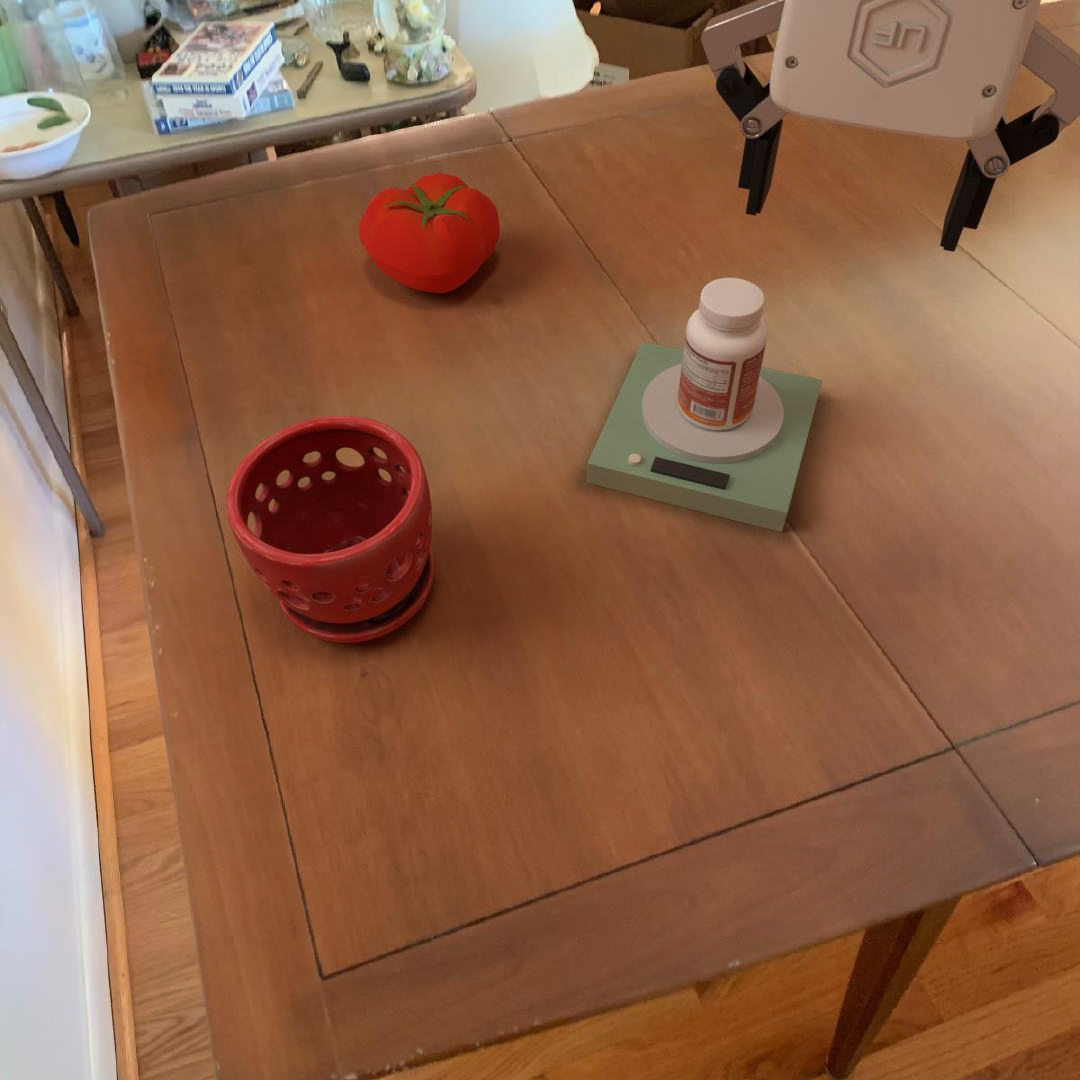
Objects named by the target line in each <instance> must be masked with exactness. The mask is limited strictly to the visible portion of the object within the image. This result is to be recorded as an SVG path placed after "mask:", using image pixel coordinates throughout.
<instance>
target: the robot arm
mask: <svg viewBox="0 0 1080 1080" xmlns="http://www.w3.org/2000/svg"><path fill="white" fill-rule="evenodd" d="M1041 2H1042V0H754V1H752V2H749V3H747V4H744V5H741V6H740V7H737V8H734V9H731V10H729V11H727V12H723V13H721V14H718V15H715V16H713V17H712V18H710V19H709V20H708V22H707V24H706V25H705V27H704V29H703V31H702V33H701V36H700V42H701V44H702V45H701V46H702V48H703V51H704V54H705V57H706V59H707V62H708V65H709V68H710V70H711V73H713V76H714V79H715V89H716V92H717V93H718V95H719V96H720V97H721V99H722V100H723V101H724V103H725V104H726V105H727V107H728V108H729V109H730V112H732V114H733V115H734V116H735V118H736V119H737V120H738V121H739V129H740V132H741V134H742V135H743V136H744V137H745V141H744V147H743V153H742V159H741V164H740V171H739V179H738V185H737V186H738V189H744V190H748V197H747V202H746V208H745V215H750V216H755V217H756V216H757V214H761V213H762V211H763V208H764V206H765V202H766V200H767V197H768V195H769V192H770V189H771V188H772V187H771V186H772V182H773V177H774V171H775V166H776V161H777V155H778V150H779V144H780V140H781V134H782V128H783V125H784V119H783V118H784V117H786V116H787V115H788V114H790V115H792V116H795V117H799V118H803V119H808V120H812V121H817V122H823V123H829V124H836V125H840V126H841V125H842V126H848V127H853V128H860V129H867V130H873V131H879V132H885V133H886V132H887V133H892V134H898V135H905V136H909V137H910V136H911V137H918V138H923V139H932V140H938V141H949V142H966V143H967V145H968V147H969V149H968V150H967V153H966V155H965V157H964V161H963V164H962V166H961V169H960V172H959V174H958V175H959V176H958V178H957V181H956V184H955V187H954V189H953V192H952V195H951V198H950V201H949V204H948V208H947V210H946V213H945V215H944V221H943V225H942V226H943V228H942V232H941V238H940V244H939V247H942V248H943V251H947V252H952V253H954V252H955V251H956V249H957V247H958V244H959V242H960V238H961V235H962V233H963V230H964V228H965V229H970V230H977V229H978V227H979V225H980V222H981V219H982V217H983V214H984V212H985V209H986V207H987V204H988V201H989V198H990V196H991V195H992V191H993V188H994V186H995V183H996V181H997V180H996V179H998V178H1001V177H1003V176H1005V174H1007V172H1008V171H1009V169H1010V167H1011V166H1013V165H1015V164H1017V163H1018V162H1020V161H1022V160H1024V159H1026V158H1027V157H1029V156H1031V155H1033V154H1035V153H1037V152H1039V151H1041V150H1042V149H1045V148H1046V147H1049V146H1050V145H1051V144H1053V143H1054V142H1055V141H1056V140H1057V139H1058V137H1059V134H1060V133H1061V132H1062V131H1063V130H1064V129H1066V127H1069V126H1071V124H1073V123H1074V122H1075V121H1076V120H1077V119H1078V118H1079V117H1080V54H1079V53H1078V52H1077V51H1075V50H1074V49H1073V48H1072V47H1070V46H1069V45H1068V44H1067V43H1065V42H1064V41H1063V40H1062V39H1060V37H1058V36H1057V35H1056V34H1054V33H1053V32H1052V31H1050V30H1049V29H1047V28H1046V27H1045V25H1043V24H1041V22H1039V21H1038V20H1037V16H1038V13H1039V10H1040V6H1041ZM773 33H777V38H776V42H775V47H774V51H773V58H772V65H771V71H770V78H769V79H768V80H767V81H766V82H765V83H764V84H762V83H761V82H760V81H759V79H758V77H757V76H756V75H755V73H754V72H753V71H752V69H751V68H750V66H749V65H748V64H747V62H746V61H745V60H744V59H743V56H742V50H741V45H743V44H746V43H748V42H751V41H754V40H757V39H760V38H763V37H765V36H768V35H770V34H773ZM1021 66H1023V67H1025V68H1026V69H1027V70H1028V71H1030V72H1032V74H1033V75H1035V76H1036V77H1037V78H1038V79H1040V80H1041V81H1043V82H1044V83H1045V84H1046V85H1048V87H1050V88H1052V89H1053V92H1052V93H1051V94H1050V95H1049V96H1048V97H1047V100H1046V101H1044V102H1043V103H1042V104H1039V105H1037V106H1036V107H1034V108H1032V109H1030V110H1028V111H1027V112H1024V113H1023V114H1022V115H1020V116H1018V117H1017V118H1014V119H1013V120H1011V121H1008V119H1007V117H1006V115H1005V113H1004V112H1005V110H1006V107H1007V105H1008V102H1009V100H1010V97H1011V94H1012V92H1013V89H1014V87H1015V84H1016V80H1017V78H1018V75H1019V72H1020V69H1021Z"/></svg>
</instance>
